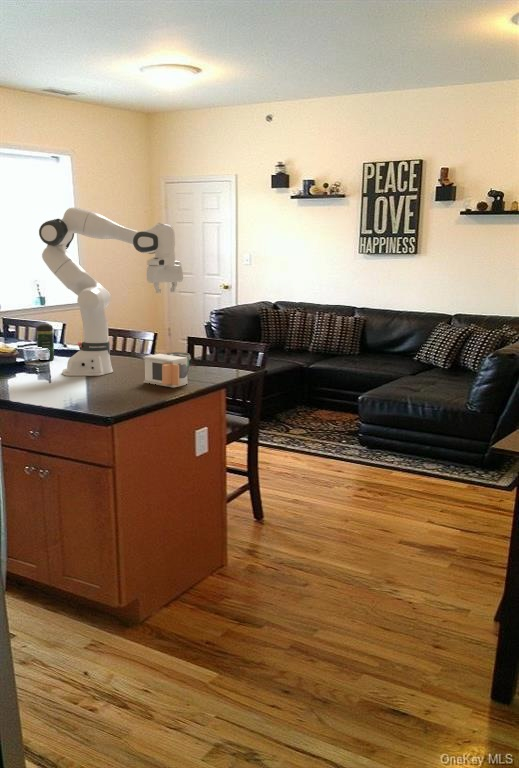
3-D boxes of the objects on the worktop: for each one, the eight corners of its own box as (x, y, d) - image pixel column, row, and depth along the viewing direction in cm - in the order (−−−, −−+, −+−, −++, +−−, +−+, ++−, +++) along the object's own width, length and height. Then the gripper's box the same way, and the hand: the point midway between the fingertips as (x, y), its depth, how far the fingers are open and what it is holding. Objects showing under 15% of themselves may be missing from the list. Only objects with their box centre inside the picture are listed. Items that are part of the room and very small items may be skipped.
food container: (195, 375, 296) (195, 353, 294) (189, 377, 291) (188, 355, 289) (173, 372, 301) (172, 351, 299) (165, 374, 296) (165, 353, 294)
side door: (156, 384, 266) (155, 364, 264) (164, 382, 270) (163, 362, 268) (171, 387, 261) (171, 366, 260) (179, 385, 265) (179, 365, 263)
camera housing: (143, 383, 276) (143, 356, 274) (159, 379, 284) (159, 353, 282) (174, 388, 266) (174, 361, 264) (190, 384, 274) (190, 357, 272)
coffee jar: (54, 361, 325) (52, 324, 322) (38, 361, 323) (36, 324, 319) (54, 358, 334) (52, 322, 331) (38, 358, 332) (36, 322, 328)
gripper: (175, 260, 297) (175, 291, 299) (143, 261, 280) (144, 293, 283) (186, 261, 293) (186, 292, 296) (154, 261, 277) (155, 294, 279)
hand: (165, 292), depth 289 cm, fingers open, 8 cm apart
